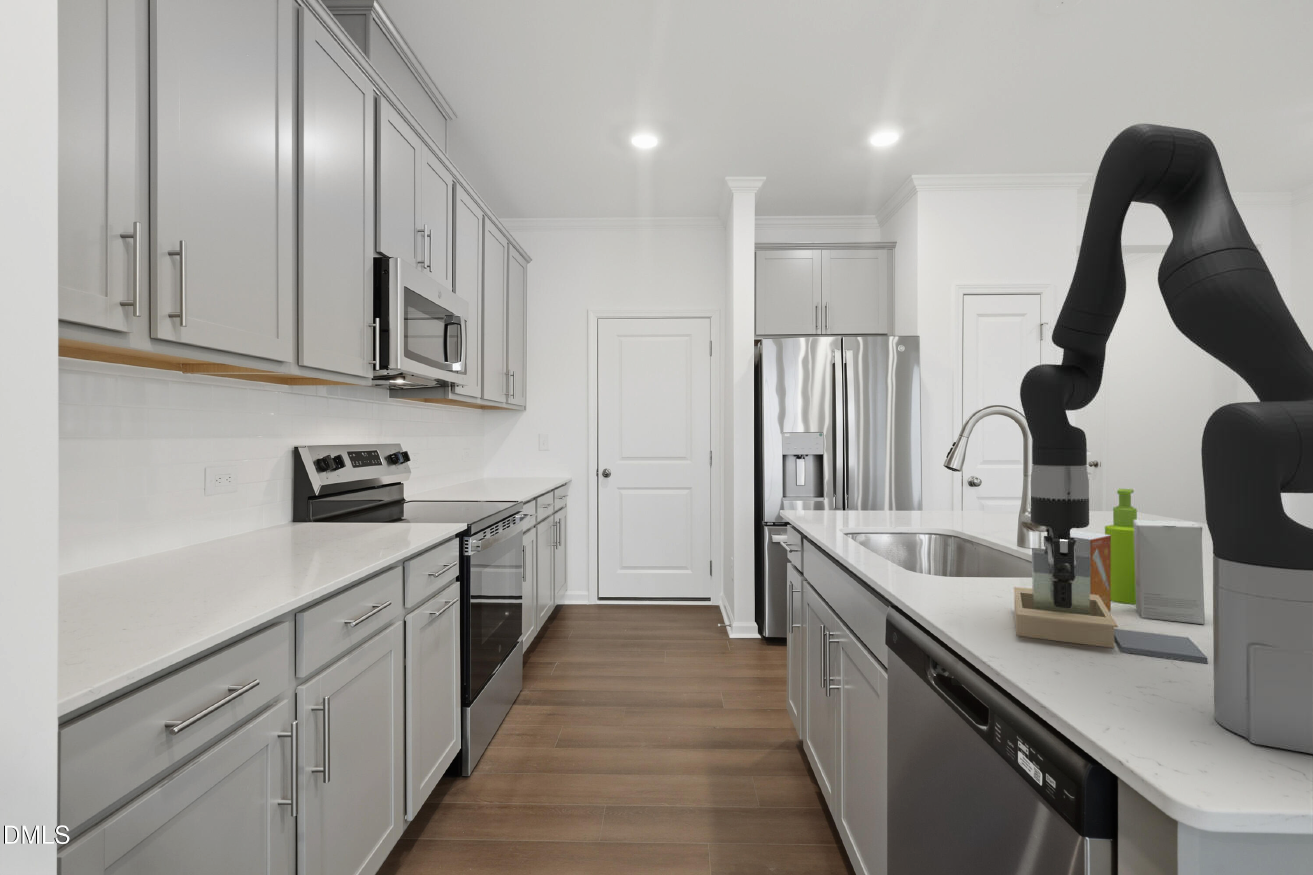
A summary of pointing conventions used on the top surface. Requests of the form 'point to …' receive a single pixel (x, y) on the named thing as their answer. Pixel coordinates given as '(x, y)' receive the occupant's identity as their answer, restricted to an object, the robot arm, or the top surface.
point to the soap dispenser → (1123, 549)
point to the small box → (1097, 562)
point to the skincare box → (1169, 570)
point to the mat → (1158, 645)
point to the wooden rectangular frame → (1064, 622)
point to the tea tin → (1044, 583)
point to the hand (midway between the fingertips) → (1059, 600)
